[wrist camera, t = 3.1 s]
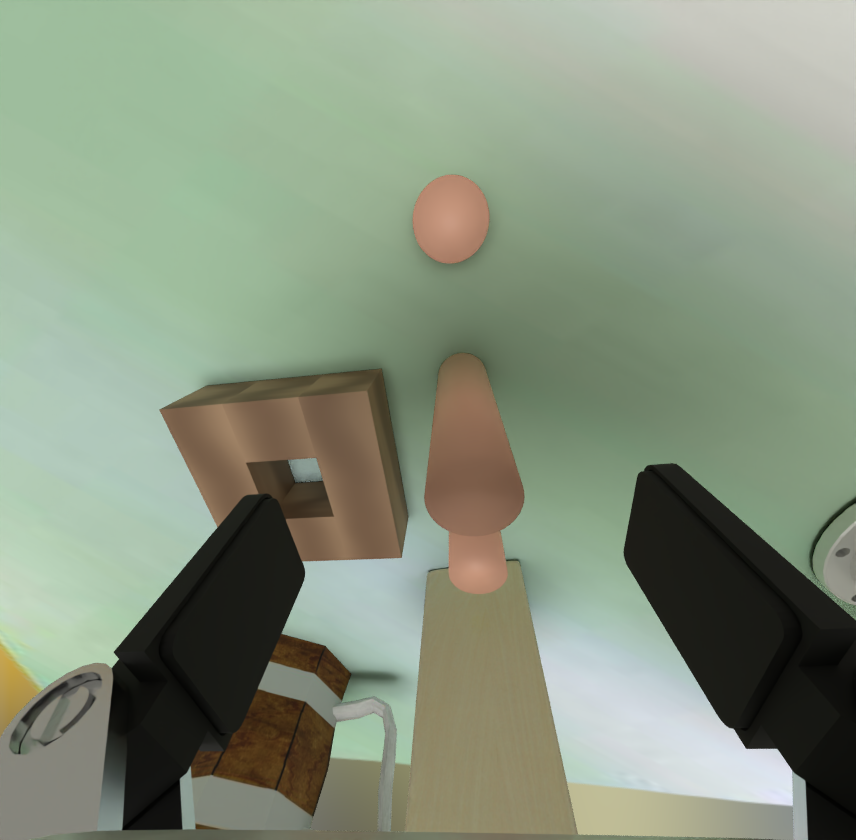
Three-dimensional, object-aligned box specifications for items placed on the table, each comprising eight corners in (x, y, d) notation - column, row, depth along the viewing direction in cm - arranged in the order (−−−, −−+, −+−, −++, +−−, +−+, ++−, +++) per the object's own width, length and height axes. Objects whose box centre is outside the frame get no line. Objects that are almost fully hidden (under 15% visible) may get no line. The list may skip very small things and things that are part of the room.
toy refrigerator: (444, 624, 31) (433, 1174, 13) (424, 570, 28) (371, 1181, 10) (530, 615, 30) (663, 1214, 11) (518, 557, 27) (673, 1236, 8)
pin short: (478, 193, 17) (487, 168, 12) (480, 259, 18) (490, 258, 14) (419, 202, 17) (407, 181, 13) (426, 266, 18) (417, 267, 14)
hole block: (381, 368, 21) (367, 390, 17) (408, 516, 26) (401, 557, 22) (206, 385, 22) (159, 409, 19) (264, 523, 27) (236, 563, 24)
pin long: (485, 350, 20) (524, 453, 9) (487, 396, 21) (524, 534, 11) (435, 355, 20) (418, 460, 10) (440, 400, 22) (430, 538, 11)
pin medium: (490, 462, 24) (507, 551, 16) (491, 496, 25) (508, 593, 18) (447, 465, 24) (446, 553, 17) (451, 498, 25) (451, 594, 18)
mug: (249, 702, 40) (145, 927, 26) (212, 630, 34) (56, 871, 21) (412, 710, 38) (391, 953, 25) (402, 636, 33) (367, 900, 19)
